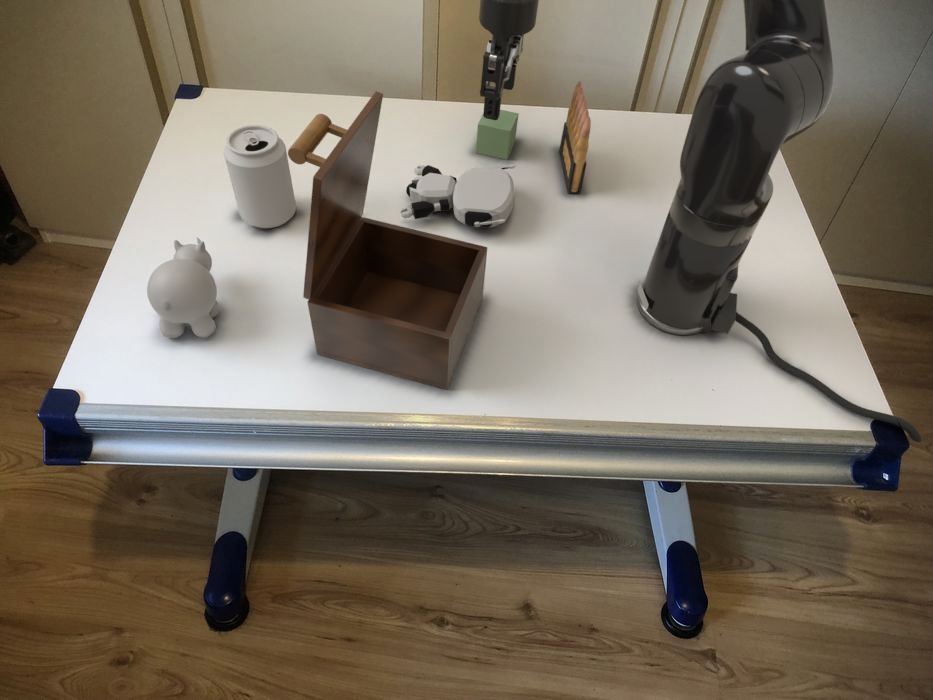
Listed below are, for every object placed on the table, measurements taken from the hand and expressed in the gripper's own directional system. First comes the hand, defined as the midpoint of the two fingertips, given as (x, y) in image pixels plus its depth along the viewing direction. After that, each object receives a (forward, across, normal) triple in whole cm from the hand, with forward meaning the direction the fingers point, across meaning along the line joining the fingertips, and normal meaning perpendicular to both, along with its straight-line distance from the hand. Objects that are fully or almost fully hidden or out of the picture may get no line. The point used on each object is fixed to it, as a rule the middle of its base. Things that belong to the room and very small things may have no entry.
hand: (498, 102), depth 100 cm
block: (+8, 0, 0) cm, 8 cm away
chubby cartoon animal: (+8, -44, +25) cm, 51 cm away
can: (+8, -26, +25) cm, 37 cm away
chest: (+7, -39, +1) cm, 40 cm away
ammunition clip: (+8, -2, -12) cm, 15 cm away
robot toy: (+8, -16, +1) cm, 18 cm away
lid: (-10, -39, +7) cm, 41 cm away
